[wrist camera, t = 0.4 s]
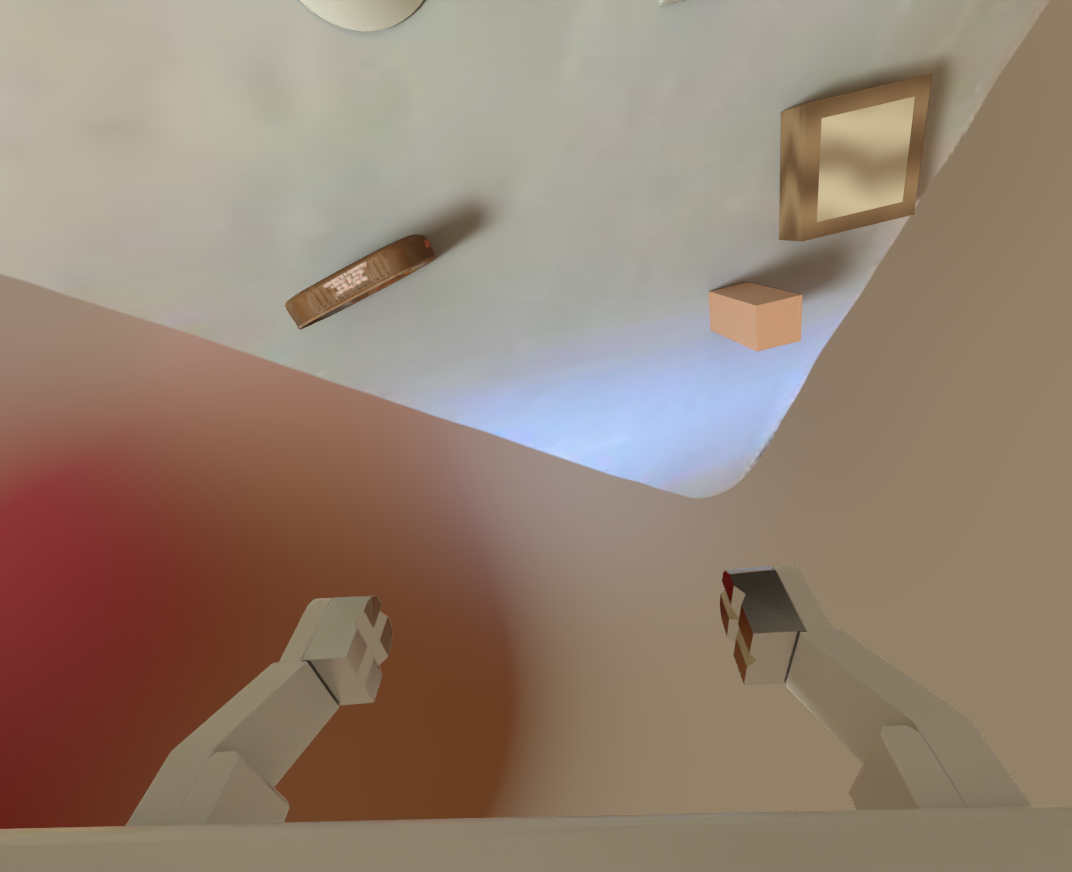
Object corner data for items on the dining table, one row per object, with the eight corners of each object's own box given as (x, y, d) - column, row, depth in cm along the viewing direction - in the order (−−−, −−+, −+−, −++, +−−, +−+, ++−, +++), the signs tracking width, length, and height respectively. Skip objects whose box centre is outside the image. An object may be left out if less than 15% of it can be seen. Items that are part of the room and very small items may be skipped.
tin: (317, 323, 50) (288, 341, 42) (298, 295, 49) (265, 309, 41) (442, 257, 49) (436, 264, 41) (426, 227, 47) (417, 228, 40)
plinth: (781, 111, 47) (807, 102, 43) (896, 84, 47) (933, 73, 43) (779, 239, 52) (802, 241, 48) (883, 214, 52) (914, 214, 48)
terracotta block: (708, 291, 53) (756, 305, 44) (746, 282, 53) (802, 294, 44) (710, 330, 55) (756, 351, 46) (747, 321, 55) (800, 340, 46)
